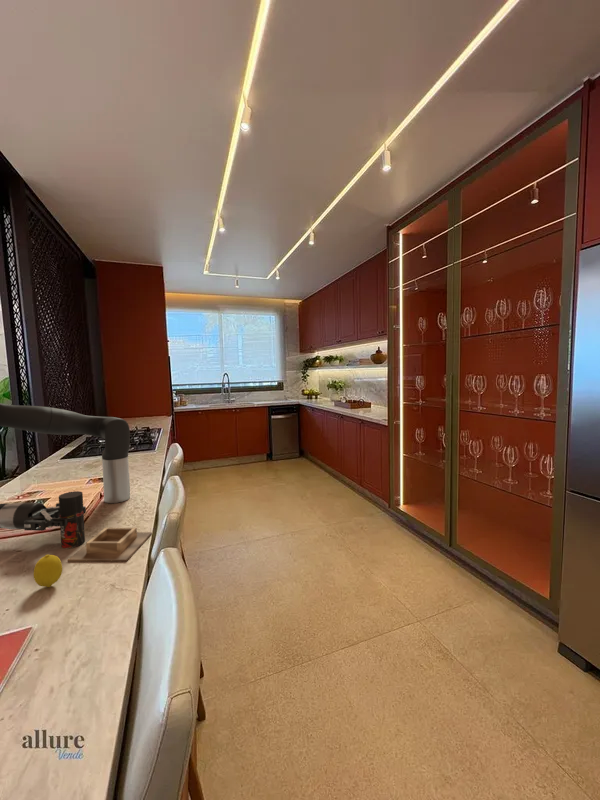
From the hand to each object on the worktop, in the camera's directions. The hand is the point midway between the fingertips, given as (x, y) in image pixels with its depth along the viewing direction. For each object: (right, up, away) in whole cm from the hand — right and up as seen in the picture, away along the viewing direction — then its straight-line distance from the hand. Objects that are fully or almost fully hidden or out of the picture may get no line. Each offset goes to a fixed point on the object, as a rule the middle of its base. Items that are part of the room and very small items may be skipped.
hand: (76, 515), depth 103 cm
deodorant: (-1, -9, +1) cm, 9 cm away
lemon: (+7, -10, -20) cm, 24 cm away
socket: (+12, -9, -1) cm, 15 cm away
